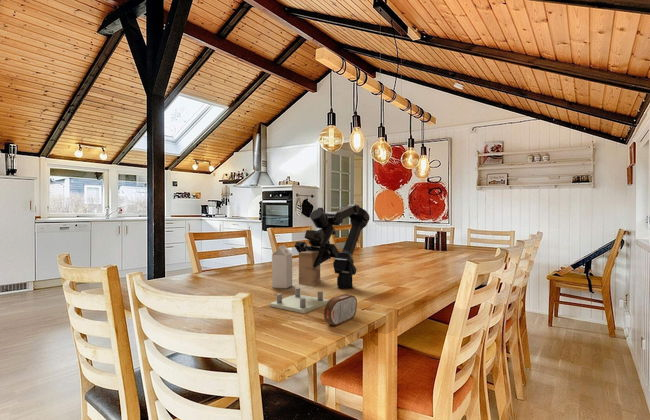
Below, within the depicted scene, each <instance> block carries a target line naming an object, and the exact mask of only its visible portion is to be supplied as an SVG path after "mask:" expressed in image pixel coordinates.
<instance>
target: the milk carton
mask: <svg viewBox="0 0 650 420" xmlns="http://www.w3.org/2000/svg"><path fill="white" fill-rule="evenodd" d="M292 286H293V253H292V252H291V251H290V250H289V248H287V247H286V244H282V245H279V246H278V249H277V250H275V251H274V252H273V253H272V254H271V288H275V289H288V288H290V287H292Z"/></svg>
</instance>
